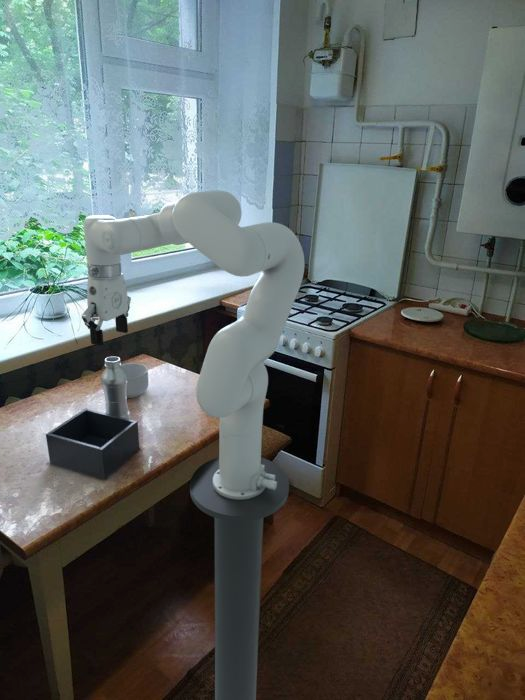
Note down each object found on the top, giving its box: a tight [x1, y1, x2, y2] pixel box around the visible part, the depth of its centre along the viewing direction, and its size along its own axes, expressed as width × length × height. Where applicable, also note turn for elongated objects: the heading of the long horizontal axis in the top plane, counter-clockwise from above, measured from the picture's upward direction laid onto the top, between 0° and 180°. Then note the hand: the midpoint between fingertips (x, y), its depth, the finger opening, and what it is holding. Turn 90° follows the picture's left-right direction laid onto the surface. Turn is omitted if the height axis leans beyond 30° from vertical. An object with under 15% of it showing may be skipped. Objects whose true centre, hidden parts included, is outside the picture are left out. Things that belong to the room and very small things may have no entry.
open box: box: [45, 408, 140, 481], centre depth 118 cm, size 16×14×8 cm
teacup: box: [120, 362, 149, 399], centre depth 150 cm, size 14×11×8 cm
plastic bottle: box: [100, 356, 132, 420], centre depth 128 cm, size 6×7×20 cm
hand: (110, 338), depth 123 cm, fingers open, 9 cm apart
